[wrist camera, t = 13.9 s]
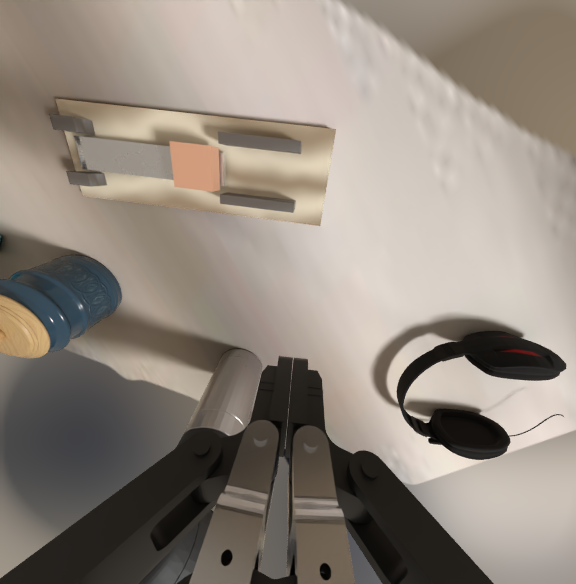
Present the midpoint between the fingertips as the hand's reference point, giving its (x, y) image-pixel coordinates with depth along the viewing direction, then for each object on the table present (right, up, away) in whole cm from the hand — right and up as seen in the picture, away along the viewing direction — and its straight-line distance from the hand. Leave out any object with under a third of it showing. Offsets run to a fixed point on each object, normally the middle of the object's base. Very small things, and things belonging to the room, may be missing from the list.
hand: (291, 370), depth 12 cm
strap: (-19, +22, +21) cm, 36 cm away
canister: (-39, +6, +34) cm, 52 cm away
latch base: (-13, +22, +22) cm, 34 cm away
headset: (+36, -14, +36) cm, 53 cm away
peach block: (-12, +21, +19) cm, 30 cm away
